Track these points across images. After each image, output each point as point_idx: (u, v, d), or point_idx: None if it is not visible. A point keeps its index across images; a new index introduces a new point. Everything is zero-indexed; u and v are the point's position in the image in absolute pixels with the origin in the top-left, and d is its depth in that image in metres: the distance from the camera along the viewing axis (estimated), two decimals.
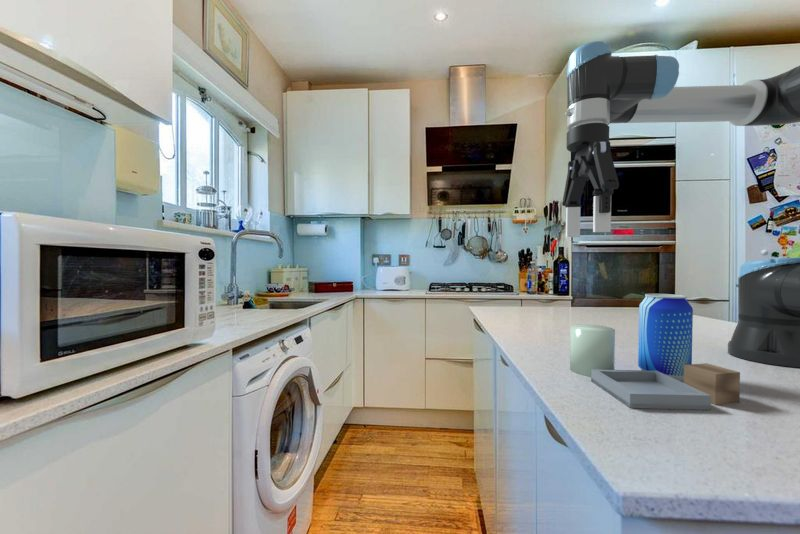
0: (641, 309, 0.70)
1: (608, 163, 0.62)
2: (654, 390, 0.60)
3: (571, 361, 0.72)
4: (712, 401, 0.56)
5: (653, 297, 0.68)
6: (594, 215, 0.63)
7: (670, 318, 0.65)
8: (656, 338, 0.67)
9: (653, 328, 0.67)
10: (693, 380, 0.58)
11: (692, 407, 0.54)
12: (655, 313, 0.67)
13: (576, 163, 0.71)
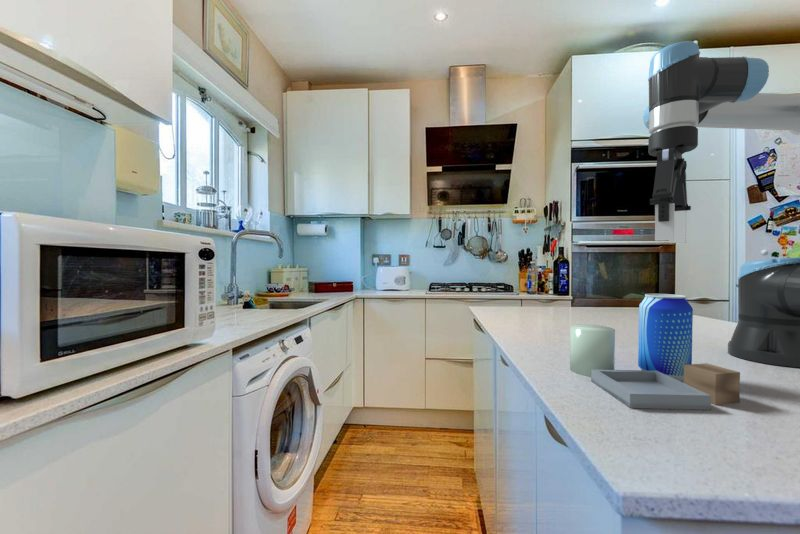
0: (641, 309, 0.70)
1: (666, 171, 0.61)
2: (654, 390, 0.60)
3: (571, 361, 0.72)
4: (712, 401, 0.56)
5: (653, 297, 0.68)
6: (655, 224, 0.64)
7: (670, 318, 0.65)
8: (656, 338, 0.67)
9: (653, 328, 0.67)
10: (693, 380, 0.58)
11: (692, 407, 0.54)
12: (655, 313, 0.67)
13: None
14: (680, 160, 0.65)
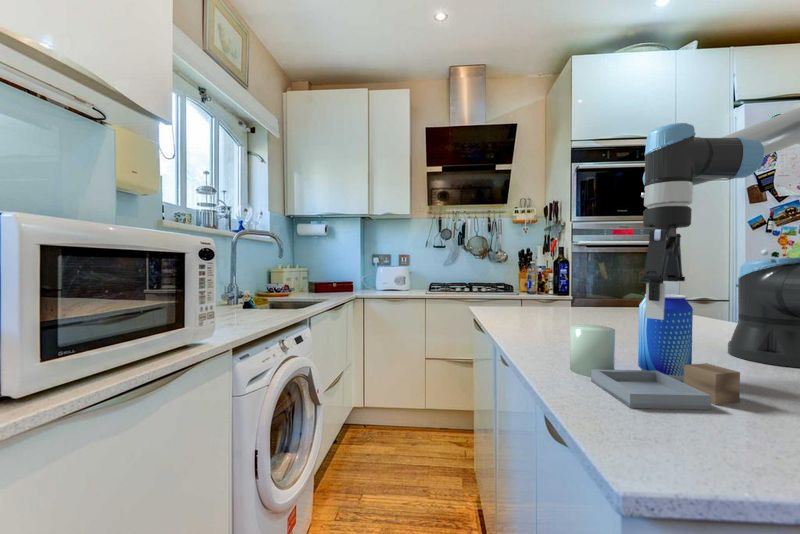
0: (641, 309, 0.70)
1: (657, 253, 0.63)
2: (654, 390, 0.60)
3: (571, 361, 0.72)
4: (712, 401, 0.56)
5: None
6: (646, 301, 0.65)
7: (670, 318, 0.65)
8: (656, 338, 0.67)
9: (653, 328, 0.67)
10: (693, 380, 0.58)
11: (692, 407, 0.54)
12: None
13: None
14: (673, 238, 0.66)
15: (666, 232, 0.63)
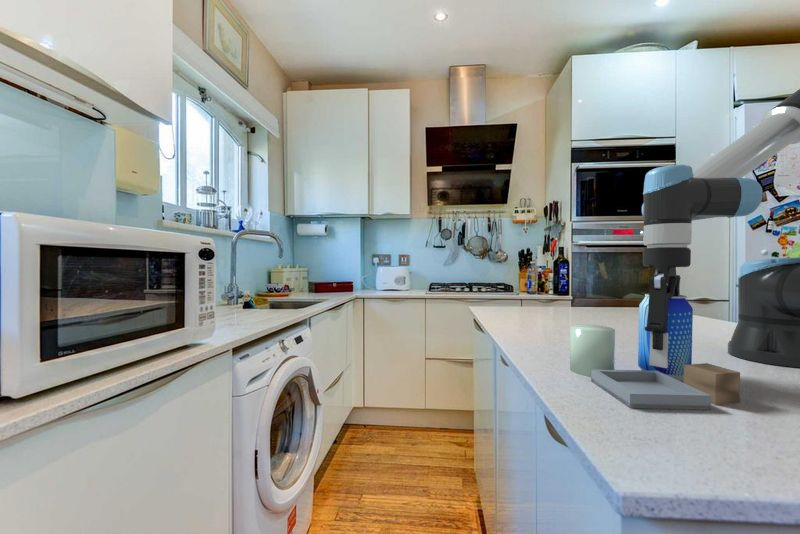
0: (641, 309, 0.70)
1: (658, 303, 0.64)
2: (654, 390, 0.60)
3: (571, 361, 0.72)
4: (712, 401, 0.56)
5: None
6: (650, 349, 0.67)
7: (670, 318, 0.65)
8: None
9: None
10: (693, 380, 0.58)
11: (692, 407, 0.54)
12: None
13: None
14: (673, 280, 0.66)
15: (666, 280, 0.64)
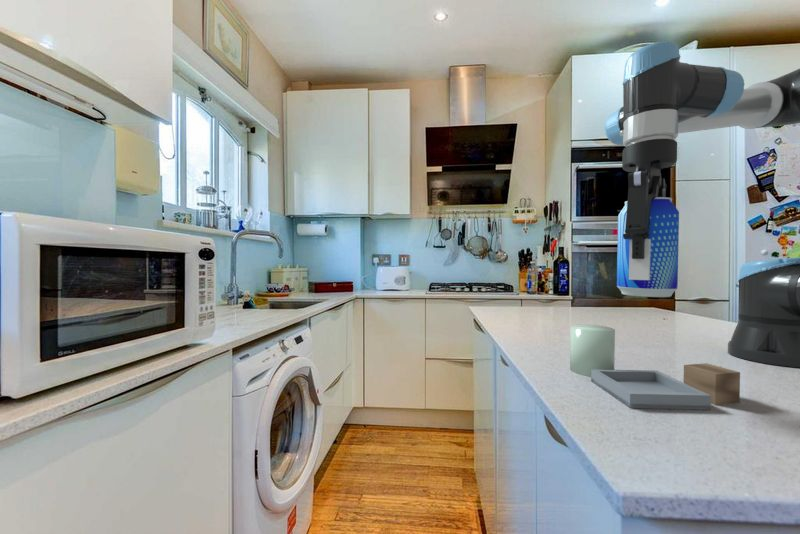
0: (620, 218, 0.60)
1: (638, 201, 0.54)
2: (654, 390, 0.60)
3: (571, 361, 0.72)
4: (712, 401, 0.56)
5: None
6: None
7: (652, 221, 0.55)
8: None
9: None
10: (693, 380, 0.58)
11: (692, 407, 0.54)
12: None
13: None
14: (656, 179, 0.57)
15: (647, 174, 0.54)
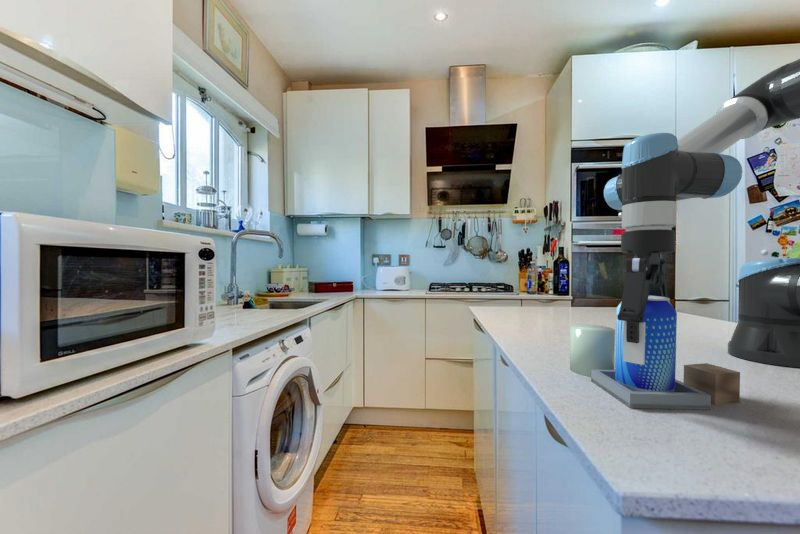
0: (618, 313, 0.60)
1: (635, 287, 0.54)
2: None
3: (571, 361, 0.72)
4: (712, 401, 0.56)
5: None
6: (624, 342, 0.56)
7: (650, 324, 0.56)
8: None
9: None
10: (693, 380, 0.58)
11: (692, 407, 0.54)
12: None
13: None
14: (654, 267, 0.57)
15: (645, 262, 0.54)
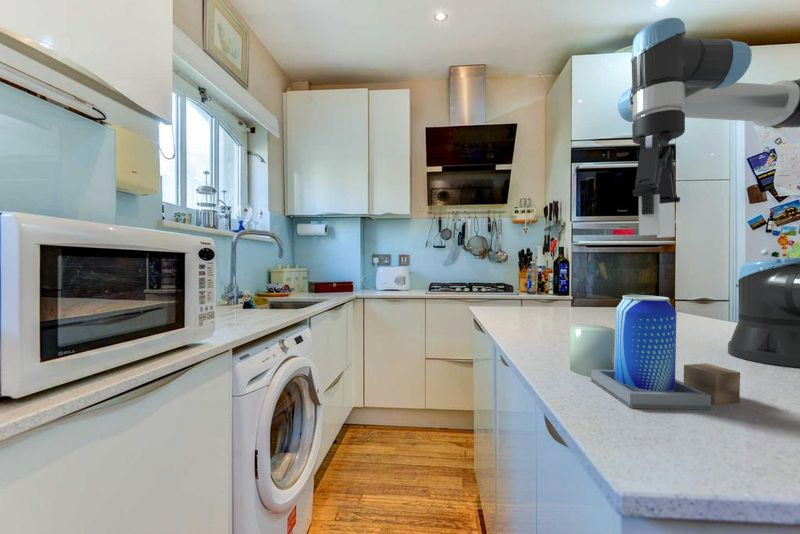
0: (618, 313, 0.60)
1: (649, 160, 0.56)
2: None
3: (571, 361, 0.72)
4: (712, 401, 0.56)
5: (631, 299, 0.59)
6: (639, 217, 0.59)
7: (650, 324, 0.56)
8: (634, 347, 0.57)
9: (630, 335, 0.58)
10: (693, 380, 0.58)
11: (692, 407, 0.54)
12: (633, 318, 0.57)
13: None
14: (666, 147, 0.60)
15: (658, 137, 0.57)
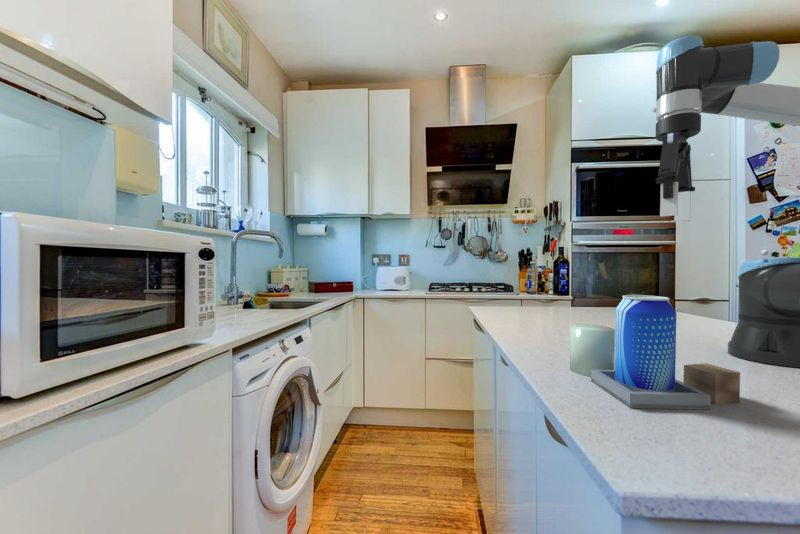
0: (617, 313, 0.60)
1: (670, 153, 0.68)
2: None
3: (571, 361, 0.72)
4: (712, 401, 0.56)
5: (631, 299, 0.59)
6: None
7: (650, 324, 0.56)
8: (634, 347, 0.57)
9: (630, 335, 0.58)
10: (693, 380, 0.58)
11: (692, 407, 0.54)
12: (633, 318, 0.57)
13: None
14: (684, 144, 0.72)
15: (678, 134, 0.69)
